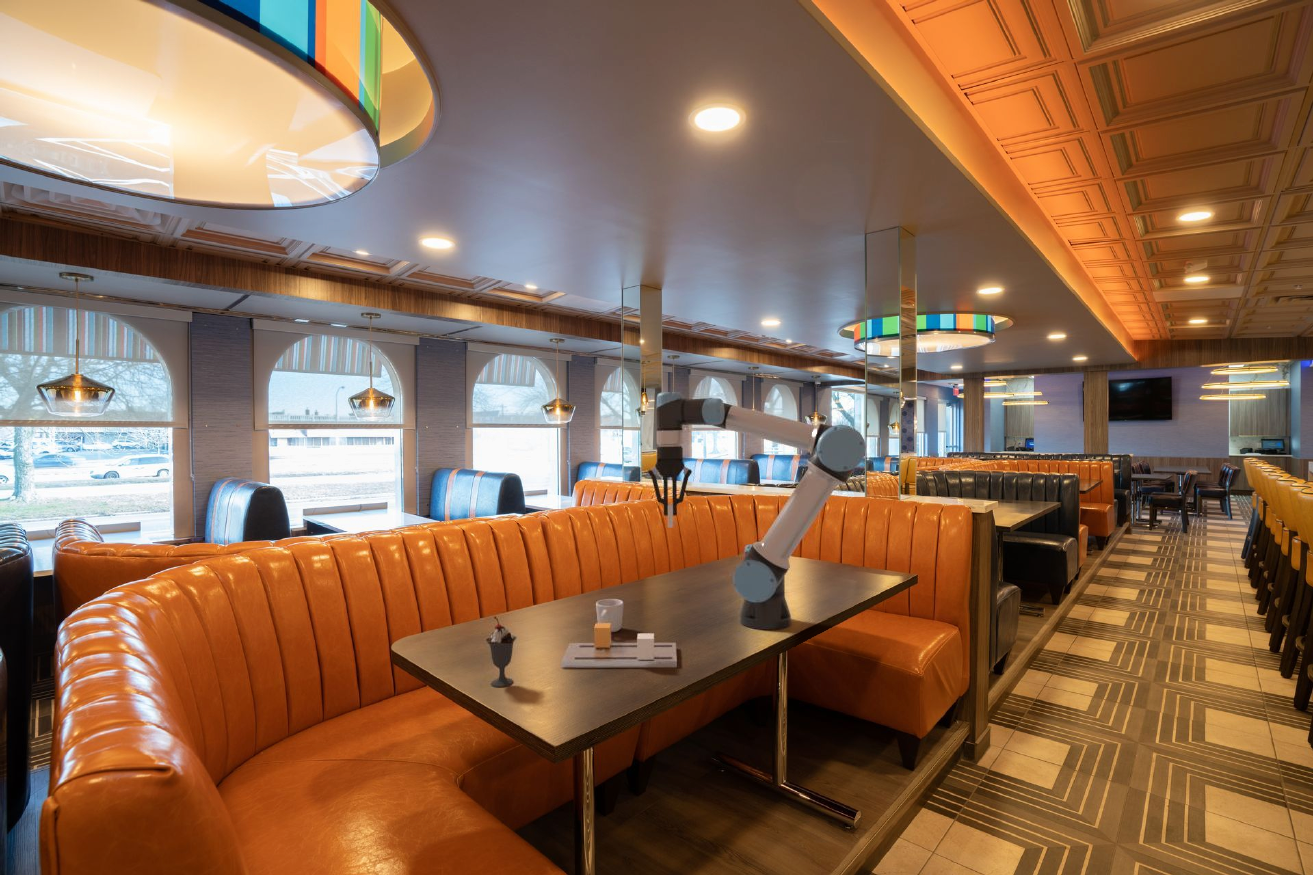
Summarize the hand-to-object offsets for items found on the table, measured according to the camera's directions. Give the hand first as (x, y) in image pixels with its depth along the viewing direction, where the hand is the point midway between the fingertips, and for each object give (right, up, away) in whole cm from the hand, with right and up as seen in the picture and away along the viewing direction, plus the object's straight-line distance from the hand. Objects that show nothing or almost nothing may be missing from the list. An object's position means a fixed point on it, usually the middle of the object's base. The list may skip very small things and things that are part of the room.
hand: (670, 526), depth 177 cm
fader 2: (-7, -28, -28) cm, 40 cm away
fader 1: (-18, -28, -19) cm, 38 cm away
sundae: (-39, -30, -38) cm, 63 cm away
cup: (-18, -30, -3) cm, 35 cm away
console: (-13, -30, -23) cm, 40 cm away
